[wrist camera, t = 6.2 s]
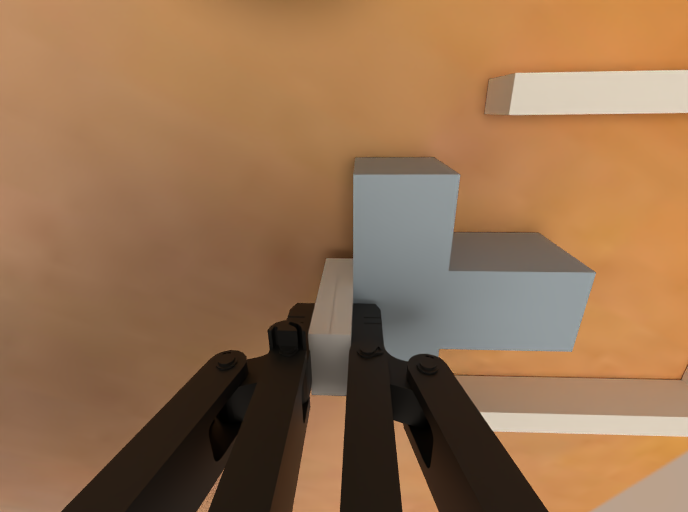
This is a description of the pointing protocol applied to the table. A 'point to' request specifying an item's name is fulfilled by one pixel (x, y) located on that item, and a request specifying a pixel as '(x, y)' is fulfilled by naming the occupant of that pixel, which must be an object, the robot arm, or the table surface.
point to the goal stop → (584, 393)
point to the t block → (455, 269)
